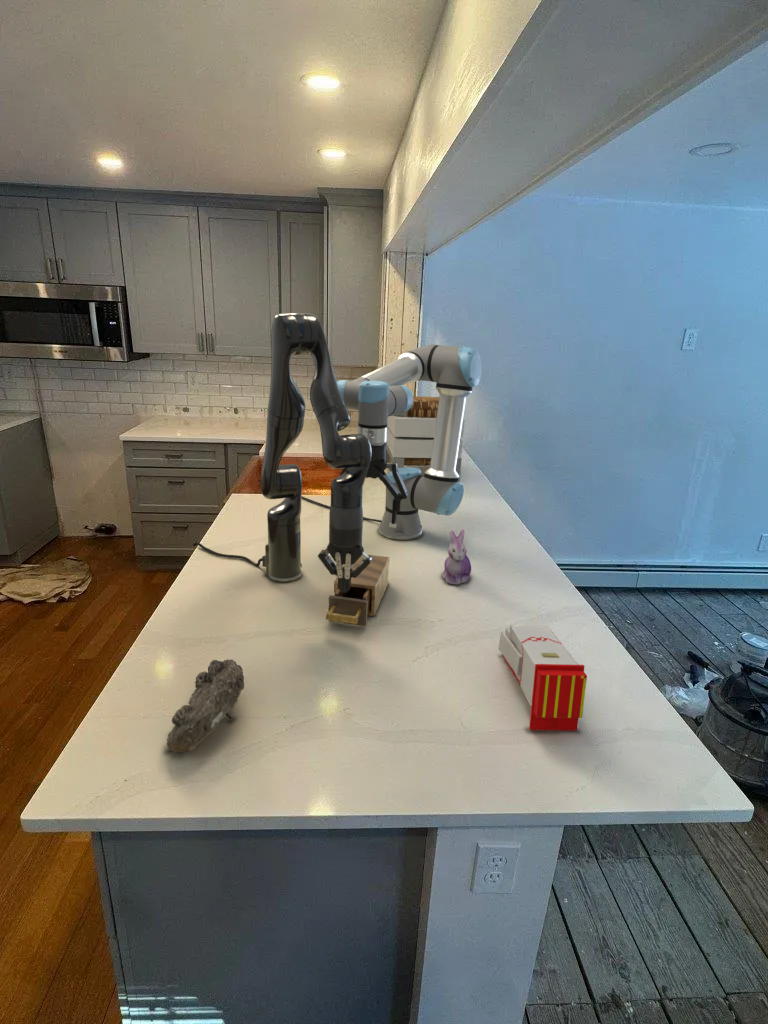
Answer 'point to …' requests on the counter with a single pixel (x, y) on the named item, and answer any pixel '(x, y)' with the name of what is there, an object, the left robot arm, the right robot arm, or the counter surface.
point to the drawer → (350, 606)
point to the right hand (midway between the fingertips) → (369, 519)
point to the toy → (545, 676)
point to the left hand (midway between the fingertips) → (344, 591)
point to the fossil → (206, 705)
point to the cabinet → (371, 579)
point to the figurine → (457, 560)
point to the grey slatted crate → (415, 434)
